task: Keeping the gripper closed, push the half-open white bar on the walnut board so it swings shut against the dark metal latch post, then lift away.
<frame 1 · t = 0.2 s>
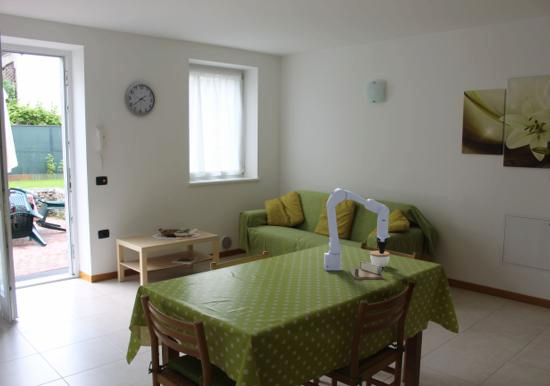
hand: (381, 252, 266), 10 cm above the table, tool pointing down, fingers open, 7 cm apart
gate board: (365, 275, 256), on the table
white bar: (370, 267, 258), point 4 cm above the table, hinge at -55.0°
lidded jar: (379, 266, 274), on the table
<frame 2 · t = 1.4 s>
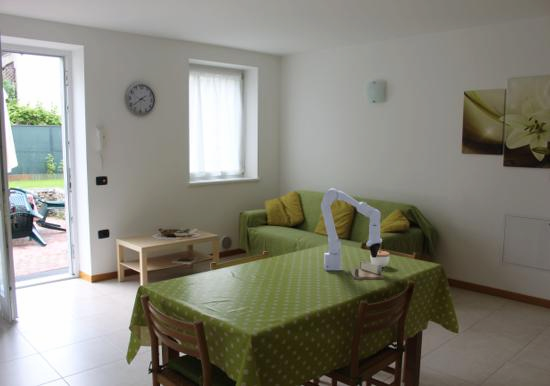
hand: (374, 257, 263), 8 cm above the table, tool pointing down, fingers closed
nothing on the table moved.
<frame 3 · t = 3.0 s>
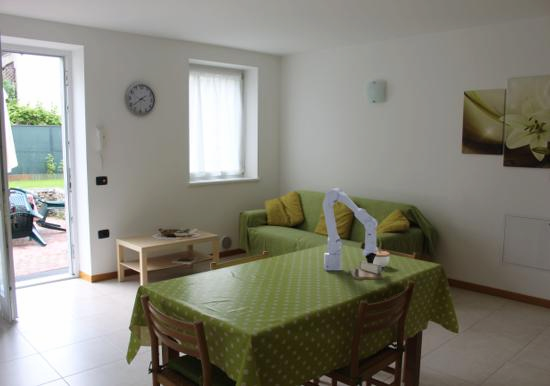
hand: (369, 266, 260), 3 cm above the table, tool pointing down, fingers closed, pressing on white bar
white bar: (370, 267, 258), point 4 cm above the table, hinge at -53.8°, touching gripper
everything else where it was.
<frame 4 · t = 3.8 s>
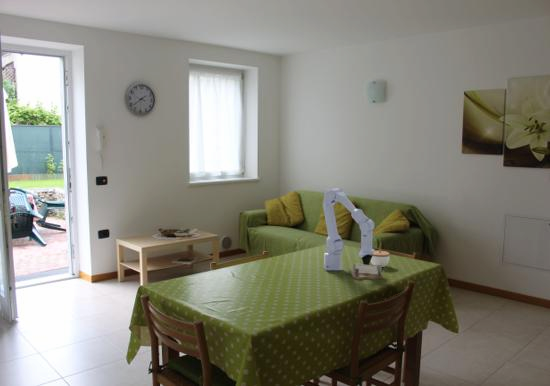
hand: (366, 268, 256), 3 cm above the table, tool pointing down, fingers closed, pressing on white bar
white bar: (367, 268, 255), point 4 cm above the table, hinge at -19.9°, touching gripper
everything else where it was.
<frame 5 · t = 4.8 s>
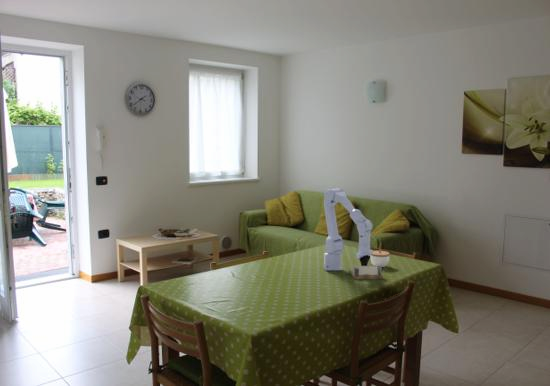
hand: (364, 269, 254), 3 cm above the table, tool pointing down, fingers closed, pressing on white bar
white bar: (367, 269, 252), point 4 cm above the table, hinge at 0.9°, touching gripper
everything else where it was.
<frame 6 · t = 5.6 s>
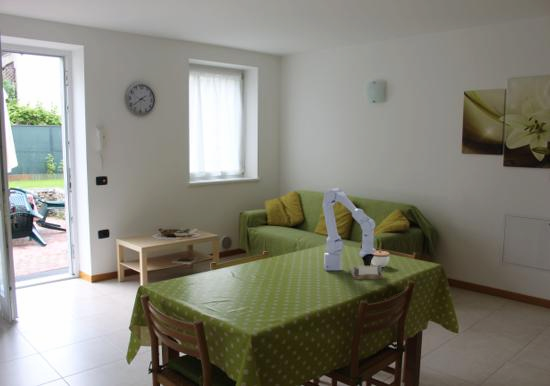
hand: (367, 267, 257), 4 cm above the table, tool pointing down, fingers closed
white bar: (367, 269, 252), point 4 cm above the table, hinge at 0.9°
everything else where it was.
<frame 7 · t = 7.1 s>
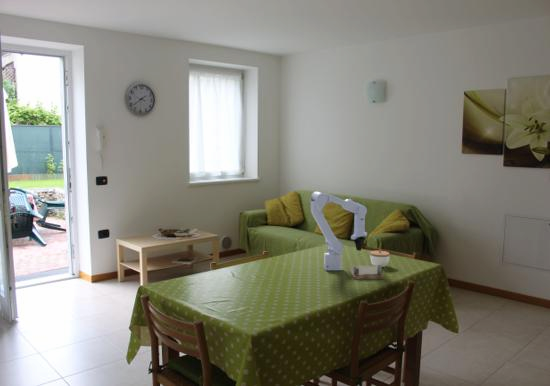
hand: (358, 250, 272), 9 cm above the table, tool pointing down, fingers closed
nothing on the table moved.
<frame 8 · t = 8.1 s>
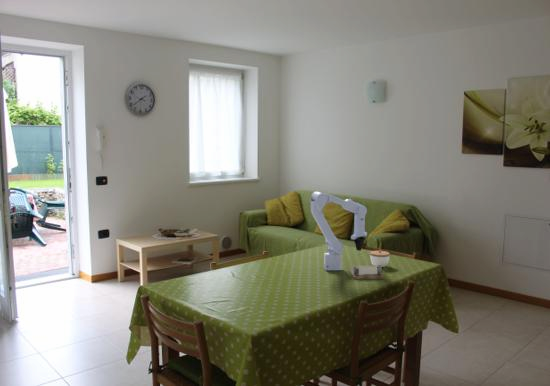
hand: (358, 250, 272), 9 cm above the table, tool pointing down, fingers closed
nothing on the table moved.
at the end: white bar at +1° (first picture: -55°) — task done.
